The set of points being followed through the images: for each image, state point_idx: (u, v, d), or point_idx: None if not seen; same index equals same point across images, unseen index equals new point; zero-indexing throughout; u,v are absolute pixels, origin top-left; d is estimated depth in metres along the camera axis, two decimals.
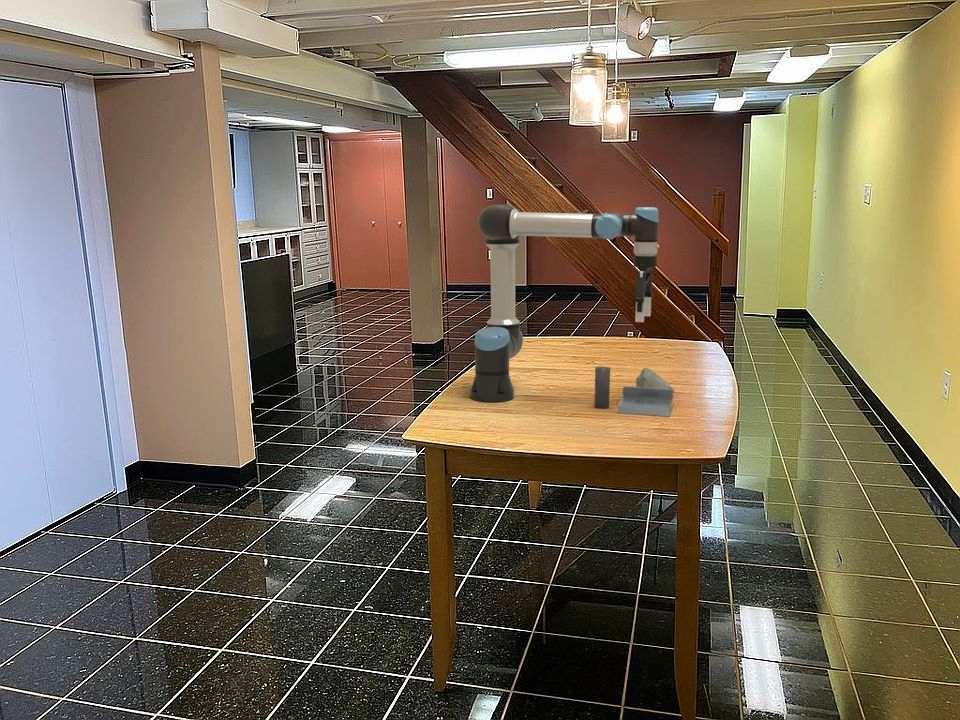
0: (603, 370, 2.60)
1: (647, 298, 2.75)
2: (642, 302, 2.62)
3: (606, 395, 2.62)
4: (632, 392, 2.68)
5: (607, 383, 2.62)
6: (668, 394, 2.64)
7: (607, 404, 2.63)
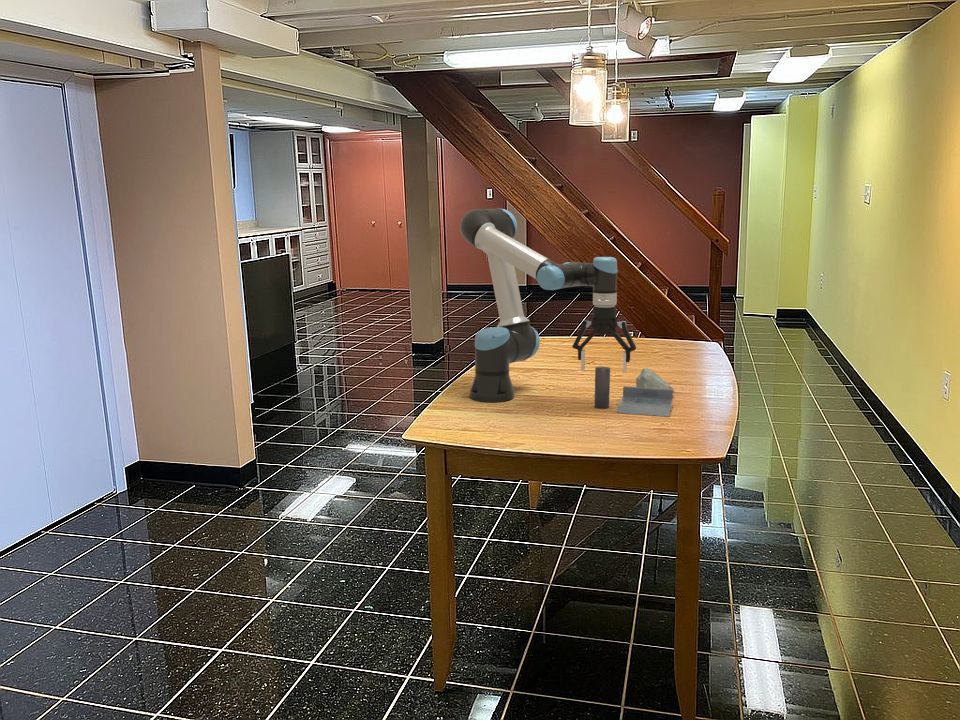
0: (603, 370, 2.60)
1: None
2: (581, 350, 2.63)
3: (606, 395, 2.62)
4: (632, 392, 2.68)
5: (607, 383, 2.62)
6: (668, 394, 2.64)
7: (607, 404, 2.63)
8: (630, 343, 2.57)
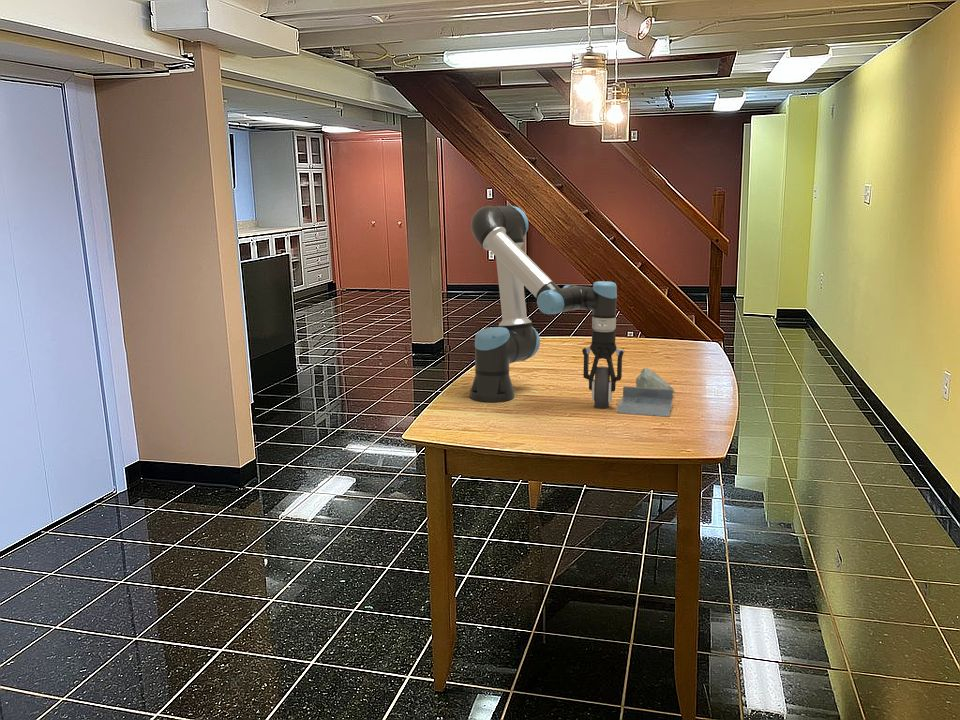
0: (603, 370, 2.60)
1: (609, 382, 2.63)
2: (592, 381, 2.64)
3: (606, 395, 2.62)
4: (632, 392, 2.68)
5: (607, 383, 2.62)
6: (668, 394, 2.64)
7: (607, 404, 2.63)
8: (618, 372, 2.60)
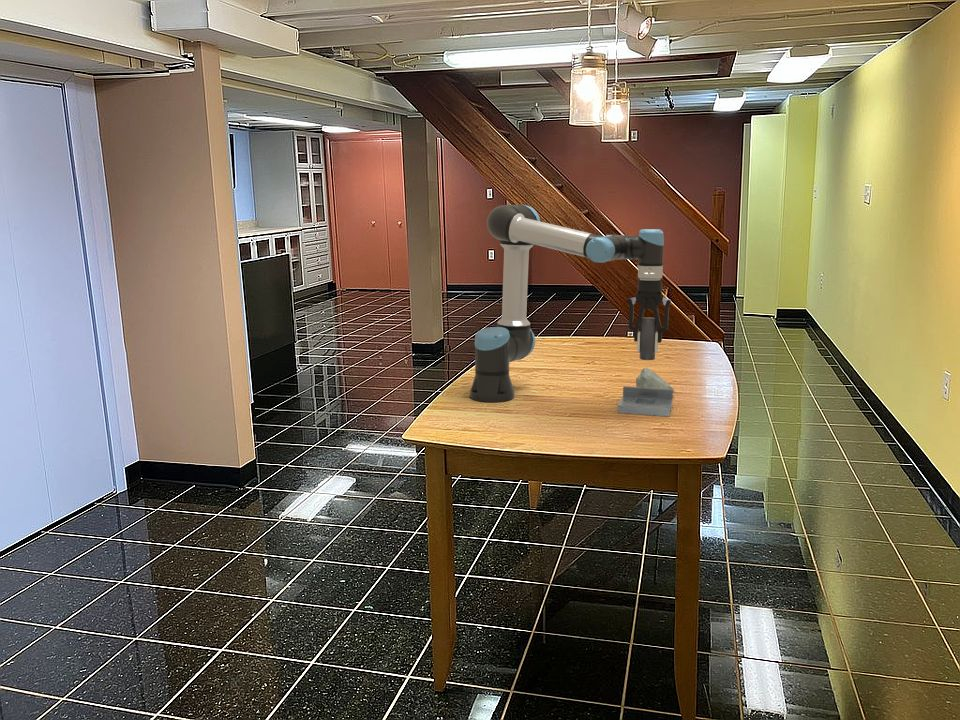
0: (649, 320, 2.54)
1: None
2: (637, 332, 2.57)
3: (652, 346, 2.56)
4: (632, 392, 2.68)
5: (653, 334, 2.55)
6: (668, 394, 2.64)
7: (653, 356, 2.57)
8: (665, 323, 2.54)
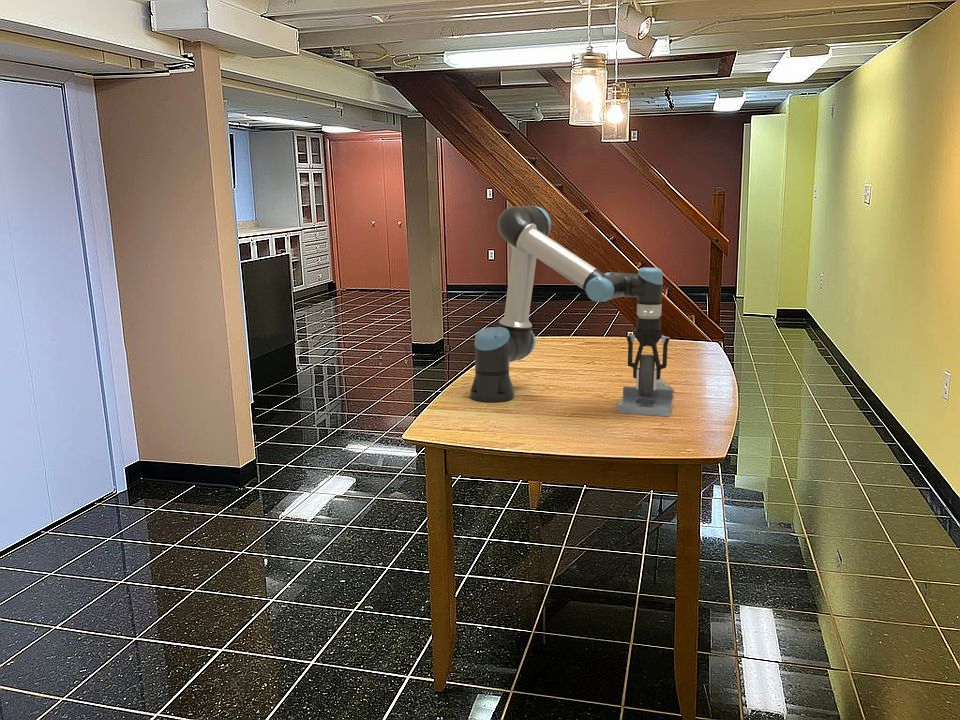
0: (648, 358, 2.56)
1: (654, 370, 2.59)
2: (636, 369, 2.60)
3: (651, 383, 2.58)
4: (632, 392, 2.68)
5: (652, 371, 2.58)
6: (668, 394, 2.64)
7: (652, 392, 2.59)
8: (664, 360, 2.56)
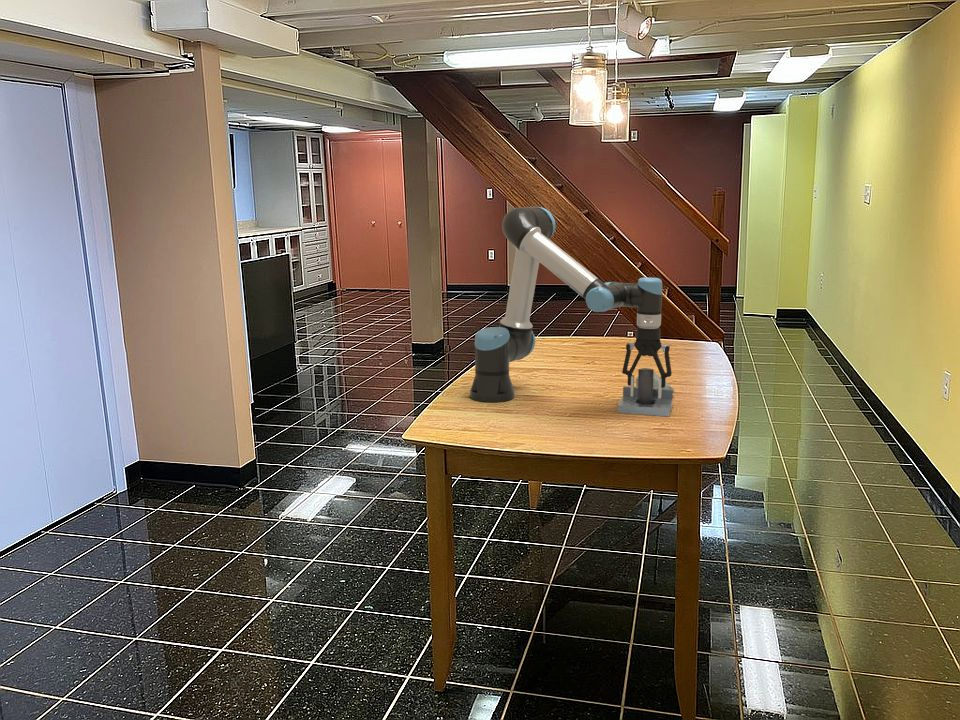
0: (647, 372, 2.57)
1: (659, 378, 2.59)
2: (631, 376, 2.61)
3: (650, 397, 2.59)
4: None
5: (651, 385, 2.59)
6: (668, 394, 2.64)
7: None
8: (668, 368, 2.56)
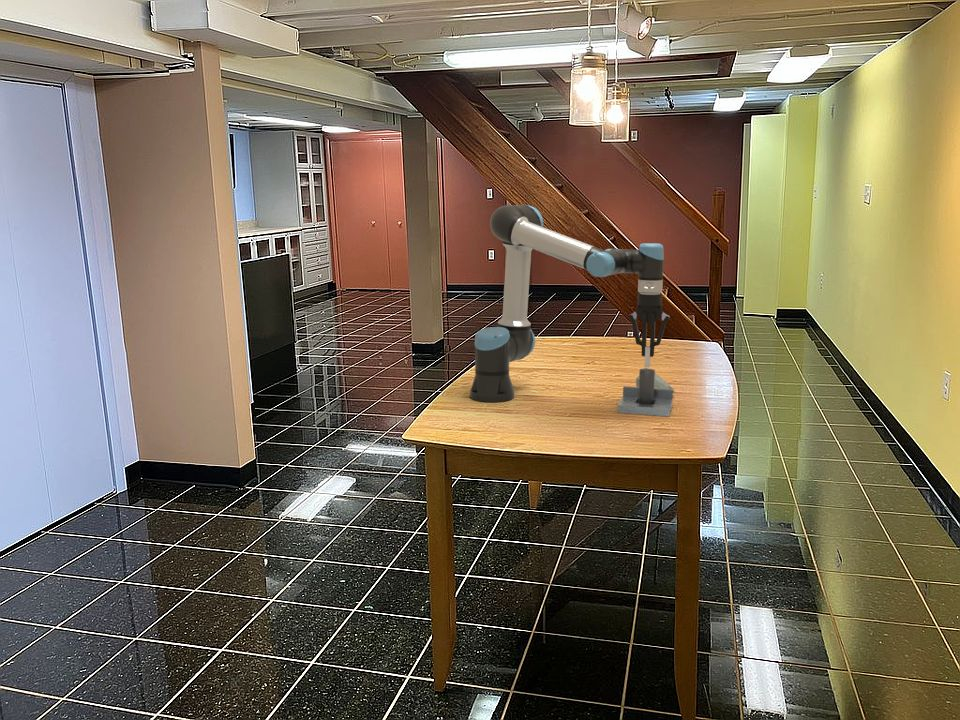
0: (648, 372, 2.57)
1: None
2: (645, 347, 2.57)
3: (650, 397, 2.59)
4: (632, 392, 2.68)
5: (652, 385, 2.59)
6: (668, 394, 2.64)
7: None
8: (659, 337, 2.55)
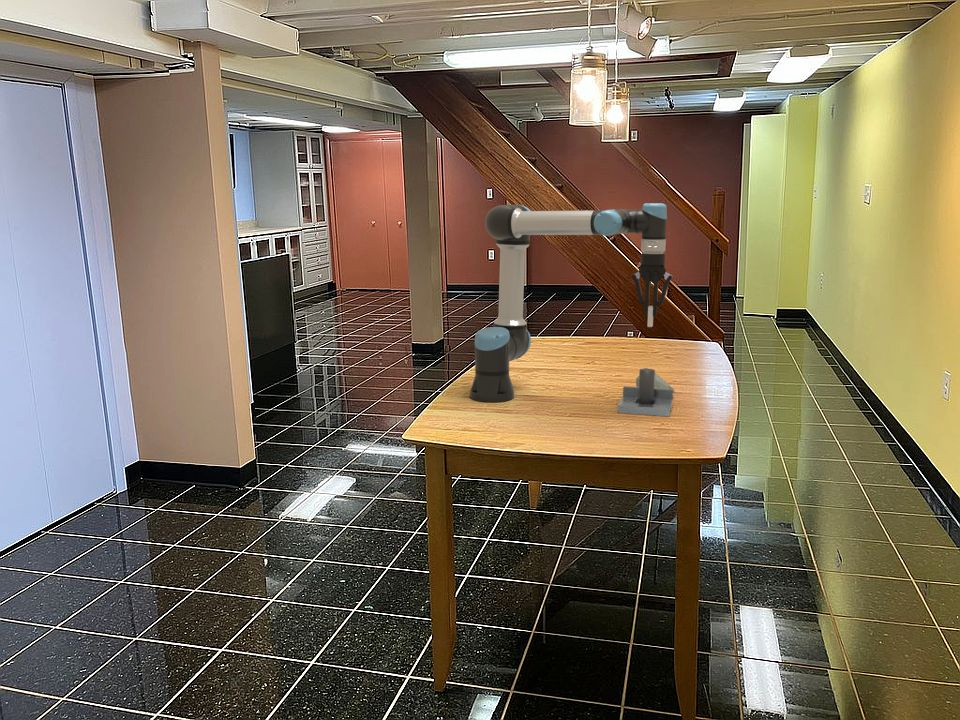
0: (648, 372, 2.57)
1: None
2: (648, 306, 2.60)
3: (650, 397, 2.59)
4: (632, 392, 2.68)
5: (652, 385, 2.59)
6: (668, 394, 2.64)
7: None
8: (662, 296, 2.57)
